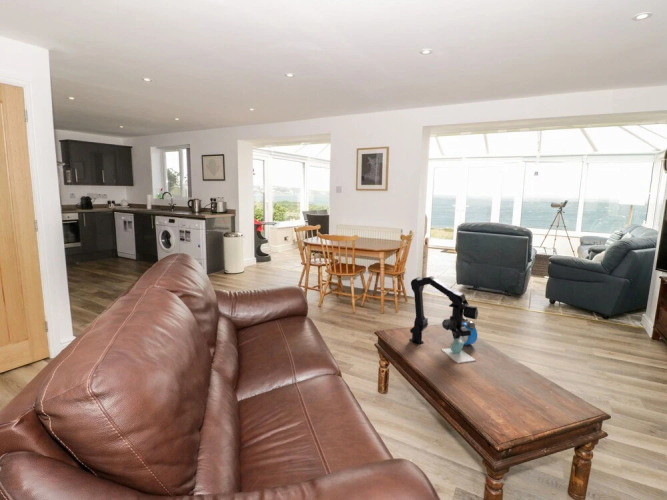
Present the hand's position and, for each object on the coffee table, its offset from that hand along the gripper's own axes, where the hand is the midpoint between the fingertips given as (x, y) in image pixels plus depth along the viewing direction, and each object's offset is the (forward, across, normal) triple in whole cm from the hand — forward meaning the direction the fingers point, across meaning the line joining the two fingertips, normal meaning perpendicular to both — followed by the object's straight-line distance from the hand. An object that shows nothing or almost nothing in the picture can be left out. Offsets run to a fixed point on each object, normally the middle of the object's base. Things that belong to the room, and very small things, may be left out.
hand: (455, 341), depth 203 cm
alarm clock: (+7, -9, +14) cm, 18 cm away
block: (+5, +1, 0) cm, 5 cm away
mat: (+7, +4, 0) cm, 8 cm away
